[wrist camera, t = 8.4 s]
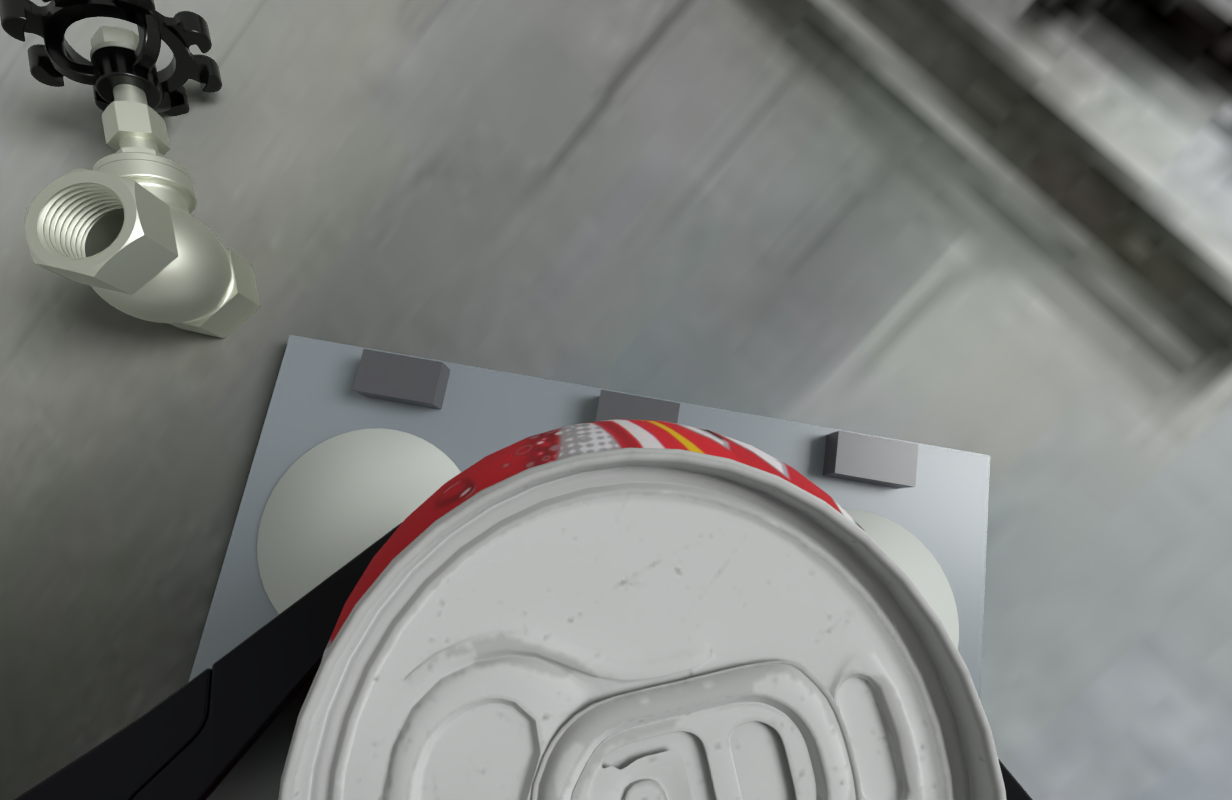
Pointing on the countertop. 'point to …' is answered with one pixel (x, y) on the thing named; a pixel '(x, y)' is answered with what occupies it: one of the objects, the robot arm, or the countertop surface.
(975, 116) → the countertop surface
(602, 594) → the soda can
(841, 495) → the control panel
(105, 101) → the valve
